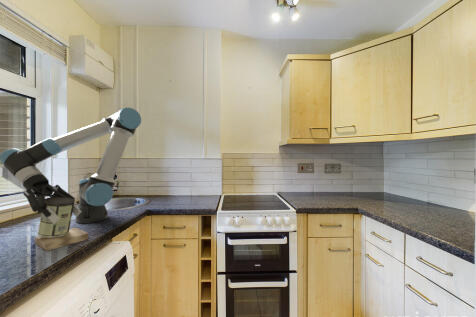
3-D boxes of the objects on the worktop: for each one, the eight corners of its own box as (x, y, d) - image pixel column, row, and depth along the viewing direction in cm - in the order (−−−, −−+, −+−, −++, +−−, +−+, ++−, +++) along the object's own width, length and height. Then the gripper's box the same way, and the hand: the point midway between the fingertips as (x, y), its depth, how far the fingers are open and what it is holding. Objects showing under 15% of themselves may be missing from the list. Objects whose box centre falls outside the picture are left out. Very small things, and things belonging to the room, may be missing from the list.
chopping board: (75, 233, 99) (75, 227, 99) (88, 239, 92) (88, 233, 92) (35, 243, 88) (35, 237, 88) (45, 251, 81) (45, 244, 81)
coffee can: (50, 226, 95) (56, 195, 94) (74, 230, 96) (80, 199, 95) (29, 235, 85) (36, 200, 84) (56, 239, 85) (63, 205, 85)
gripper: (51, 182, 102) (83, 216, 101) (-5, 189, 79) (35, 233, 79) (62, 171, 101) (94, 205, 101) (8, 175, 79) (48, 219, 78)
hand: (68, 217), depth 90 cm, fingers closed on coffee can, 10 cm apart
